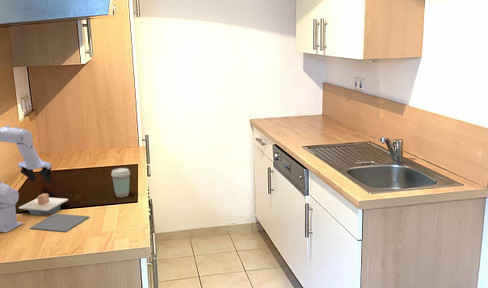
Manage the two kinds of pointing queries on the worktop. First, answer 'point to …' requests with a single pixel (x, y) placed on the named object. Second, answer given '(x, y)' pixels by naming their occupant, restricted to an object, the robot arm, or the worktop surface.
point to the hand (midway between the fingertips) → (41, 181)
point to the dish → (38, 212)
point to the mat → (59, 222)
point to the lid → (43, 203)
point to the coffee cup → (121, 181)
